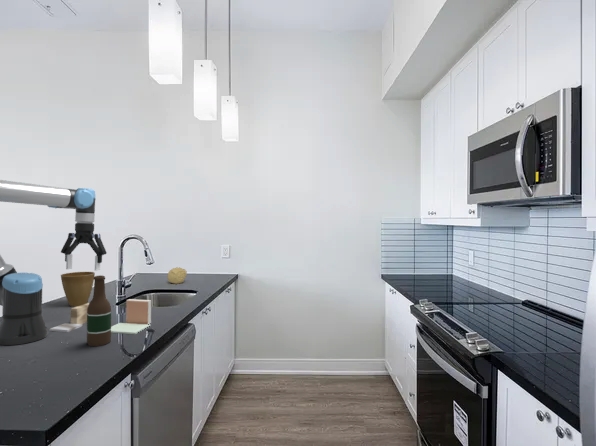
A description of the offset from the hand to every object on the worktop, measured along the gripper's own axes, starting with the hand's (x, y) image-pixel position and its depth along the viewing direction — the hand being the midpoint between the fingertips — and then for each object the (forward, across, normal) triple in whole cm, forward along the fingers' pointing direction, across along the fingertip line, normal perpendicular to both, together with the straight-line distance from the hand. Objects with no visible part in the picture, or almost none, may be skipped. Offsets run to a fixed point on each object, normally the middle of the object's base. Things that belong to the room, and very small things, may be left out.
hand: (83, 269), depth 168 cm
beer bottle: (+22, -30, +32) cm, 49 cm away
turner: (+21, -7, +12) cm, 25 cm away
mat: (+21, -30, +15) cm, 40 cm away
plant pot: (+21, +16, -19) cm, 32 cm away
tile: (+21, -31, +7) cm, 38 cm away
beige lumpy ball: (+19, -6, -89) cm, 91 cm away
